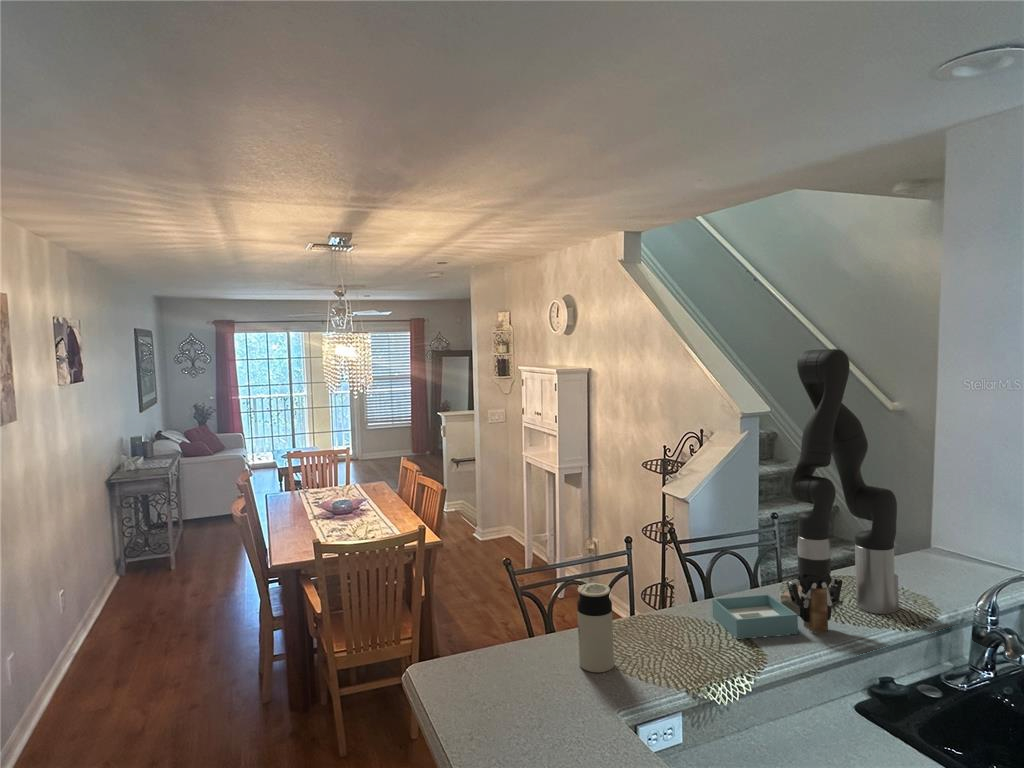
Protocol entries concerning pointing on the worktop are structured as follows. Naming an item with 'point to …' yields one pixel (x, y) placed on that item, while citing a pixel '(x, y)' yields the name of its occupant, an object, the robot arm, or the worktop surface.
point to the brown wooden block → (818, 611)
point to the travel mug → (595, 628)
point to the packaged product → (789, 604)
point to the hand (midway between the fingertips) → (815, 619)
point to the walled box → (754, 616)
